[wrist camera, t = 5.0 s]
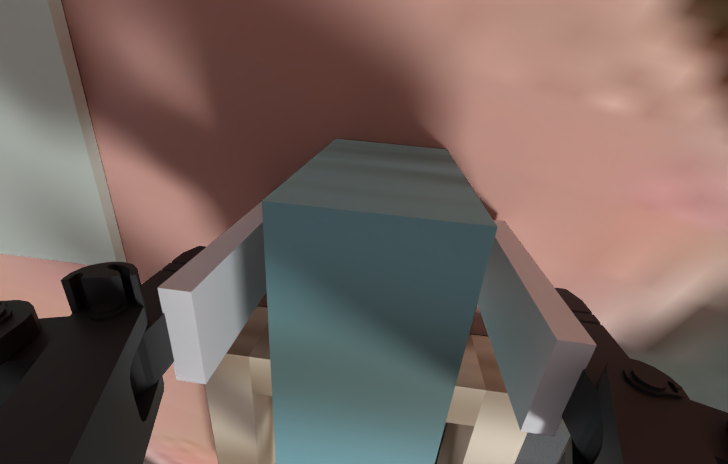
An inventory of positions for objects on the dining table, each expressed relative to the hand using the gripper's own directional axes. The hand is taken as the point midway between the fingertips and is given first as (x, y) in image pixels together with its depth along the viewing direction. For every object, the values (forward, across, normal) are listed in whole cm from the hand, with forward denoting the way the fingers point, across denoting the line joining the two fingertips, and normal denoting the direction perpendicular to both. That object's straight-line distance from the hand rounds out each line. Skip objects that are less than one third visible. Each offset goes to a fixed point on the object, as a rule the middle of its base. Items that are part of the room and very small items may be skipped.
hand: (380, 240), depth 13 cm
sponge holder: (0, 0, -7) cm, 7 cm away
